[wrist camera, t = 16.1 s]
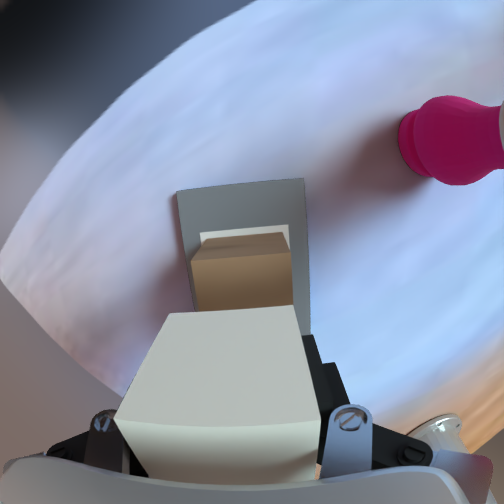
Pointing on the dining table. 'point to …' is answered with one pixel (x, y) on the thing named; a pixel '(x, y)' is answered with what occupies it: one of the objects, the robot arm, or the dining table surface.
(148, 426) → the cream block
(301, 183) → the pad
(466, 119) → the pepper mill
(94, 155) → the dining table surface
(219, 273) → the walnut block
